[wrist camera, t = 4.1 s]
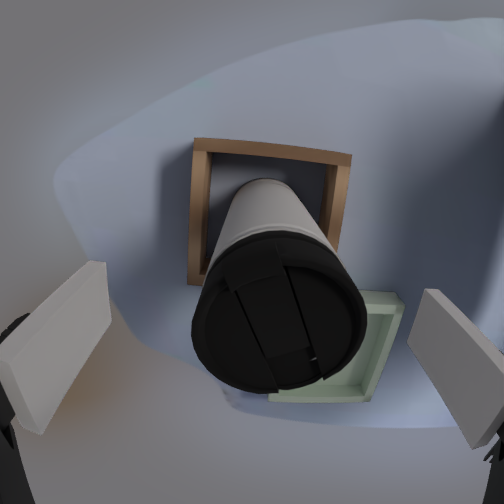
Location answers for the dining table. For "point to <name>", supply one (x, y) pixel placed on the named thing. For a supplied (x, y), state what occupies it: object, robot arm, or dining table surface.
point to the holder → (206, 146)
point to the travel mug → (275, 297)
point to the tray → (357, 358)
